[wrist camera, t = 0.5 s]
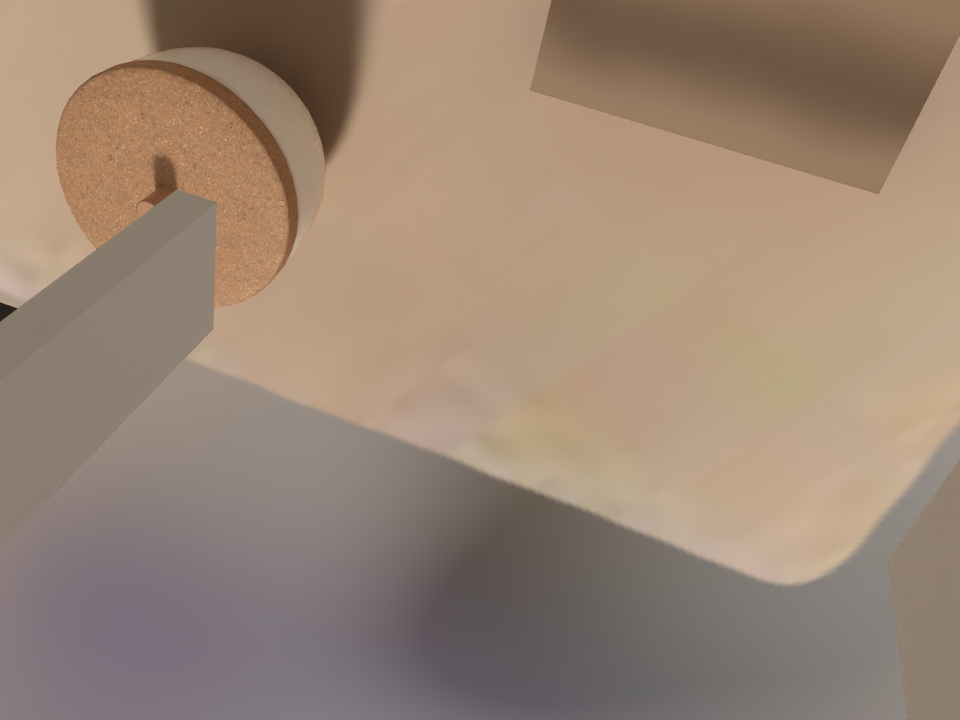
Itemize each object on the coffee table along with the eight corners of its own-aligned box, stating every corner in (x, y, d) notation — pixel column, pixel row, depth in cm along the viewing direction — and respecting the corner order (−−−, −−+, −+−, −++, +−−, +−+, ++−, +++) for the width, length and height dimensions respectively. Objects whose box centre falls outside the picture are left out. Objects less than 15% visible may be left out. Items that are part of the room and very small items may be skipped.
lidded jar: (228, -35, 40) (100, 15, 33) (403, 145, 42) (321, 230, 35) (118, 123, 46) (-12, 196, 38) (277, 273, 48) (184, 369, 41)
